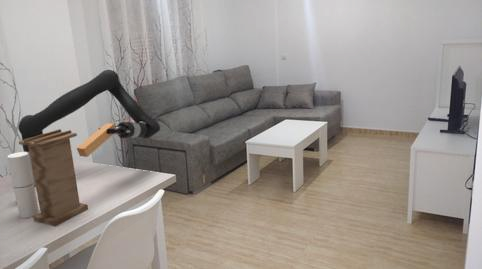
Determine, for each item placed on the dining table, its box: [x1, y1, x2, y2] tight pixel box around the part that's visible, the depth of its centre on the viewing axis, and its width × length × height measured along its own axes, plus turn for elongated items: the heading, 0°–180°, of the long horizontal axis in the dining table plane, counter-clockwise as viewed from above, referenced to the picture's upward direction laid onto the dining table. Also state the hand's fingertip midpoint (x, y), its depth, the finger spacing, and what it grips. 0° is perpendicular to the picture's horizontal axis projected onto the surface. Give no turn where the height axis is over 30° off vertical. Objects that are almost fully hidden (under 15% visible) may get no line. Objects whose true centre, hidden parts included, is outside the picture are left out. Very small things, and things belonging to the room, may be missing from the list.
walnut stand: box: [18, 128, 89, 227], centre depth 158 cm, size 12×16×33 cm
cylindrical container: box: [7, 151, 40, 219], centre depth 162 cm, size 7×7×25 cm
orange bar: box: [76, 122, 116, 158], centre depth 175 cm, size 4×20×4 cm, turn 156°
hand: (103, 131), depth 178 cm, fingers closed on orange bar, 4 cm apart
